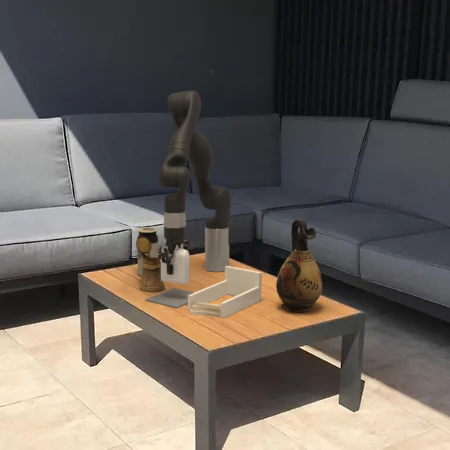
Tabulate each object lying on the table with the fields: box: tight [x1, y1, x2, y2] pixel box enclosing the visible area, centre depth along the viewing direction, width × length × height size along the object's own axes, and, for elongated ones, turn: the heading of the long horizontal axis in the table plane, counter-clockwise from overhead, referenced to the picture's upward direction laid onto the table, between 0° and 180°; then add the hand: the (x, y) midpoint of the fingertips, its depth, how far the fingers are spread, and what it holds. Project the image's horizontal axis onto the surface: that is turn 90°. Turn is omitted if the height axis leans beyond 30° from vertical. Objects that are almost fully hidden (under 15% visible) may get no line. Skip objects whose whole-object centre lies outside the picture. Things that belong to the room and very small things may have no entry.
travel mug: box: [136, 227, 159, 277], centre depth 277 cm, size 8×8×18 cm
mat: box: [144, 287, 195, 309], centre depth 250 cm, size 16×14×1 cm
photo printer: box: [160, 248, 190, 285], centre depth 248 cm, size 10×4×12 cm, turn 68°
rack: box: [187, 265, 263, 319], centre depth 243 cm, size 23×14×10 cm, turn 145°
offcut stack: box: [189, 302, 221, 318], centre depth 235 cm, size 5×11×3 cm, turn 74°
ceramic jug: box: [275, 218, 323, 313], centre depth 239 cm, size 17×15×30 cm
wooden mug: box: [135, 236, 166, 293], centre depth 261 cm, size 9×14×18 cm, turn 33°
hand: (175, 272), depth 248 cm, fingers closed on photo printer, 5 cm apart
